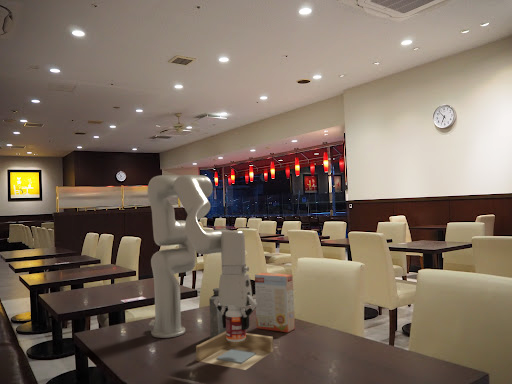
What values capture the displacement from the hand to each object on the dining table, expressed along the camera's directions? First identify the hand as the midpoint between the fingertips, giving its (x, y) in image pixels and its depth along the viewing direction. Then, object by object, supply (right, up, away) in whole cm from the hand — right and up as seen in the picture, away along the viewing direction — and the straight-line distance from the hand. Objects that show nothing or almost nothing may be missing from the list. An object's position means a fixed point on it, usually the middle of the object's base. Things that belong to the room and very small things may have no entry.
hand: (235, 327), depth 131 cm
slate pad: (0, -9, 0) cm, 9 cm away
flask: (-7, -11, +20) cm, 24 cm away
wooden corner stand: (0, -10, +1) cm, 10 cm away
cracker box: (+14, -10, +30) cm, 35 cm away
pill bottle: (0, -4, 0) cm, 4 cm away
